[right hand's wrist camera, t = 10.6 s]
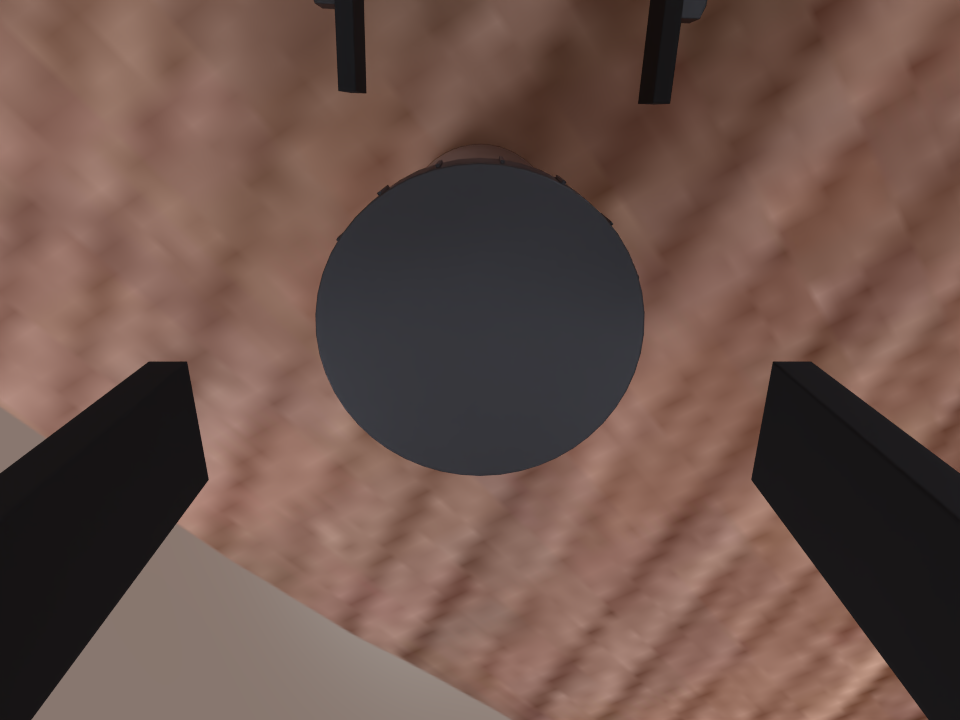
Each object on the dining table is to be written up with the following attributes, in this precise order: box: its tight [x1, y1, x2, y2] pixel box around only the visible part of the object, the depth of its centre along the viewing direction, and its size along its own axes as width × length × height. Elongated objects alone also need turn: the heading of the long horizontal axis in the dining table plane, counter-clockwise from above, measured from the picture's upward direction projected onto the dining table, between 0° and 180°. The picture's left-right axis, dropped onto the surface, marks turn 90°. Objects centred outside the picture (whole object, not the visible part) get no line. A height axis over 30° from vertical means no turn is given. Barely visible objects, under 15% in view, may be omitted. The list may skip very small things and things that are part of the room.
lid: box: [316, 156, 644, 476], centre depth 19 cm, size 10×10×2 cm
